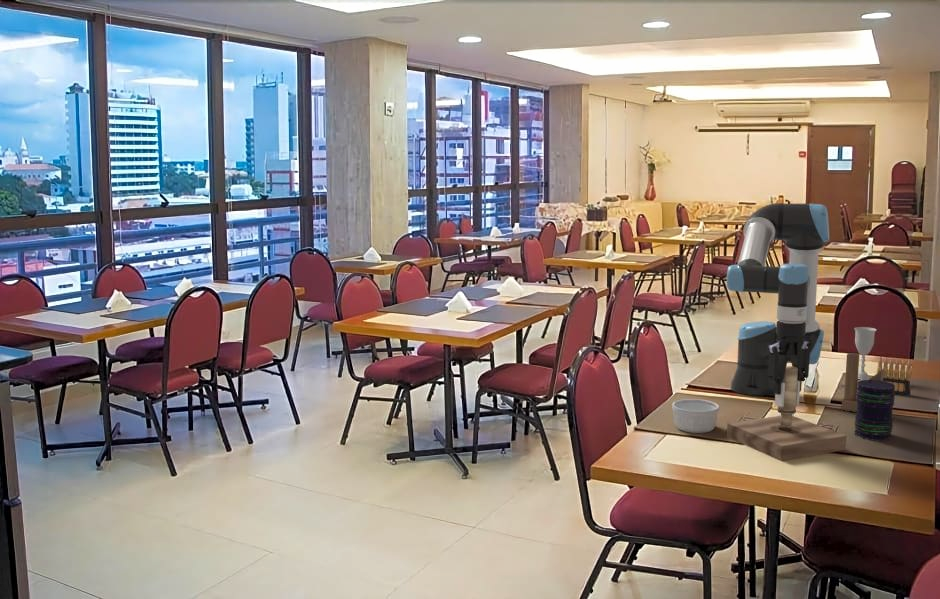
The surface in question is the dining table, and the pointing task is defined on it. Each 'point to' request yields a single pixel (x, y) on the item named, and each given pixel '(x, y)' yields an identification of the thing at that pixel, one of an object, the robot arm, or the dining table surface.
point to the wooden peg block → (854, 382)
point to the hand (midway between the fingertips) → (786, 404)
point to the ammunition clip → (897, 375)
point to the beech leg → (789, 396)
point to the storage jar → (874, 409)
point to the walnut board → (786, 437)
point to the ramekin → (695, 415)
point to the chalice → (864, 346)
